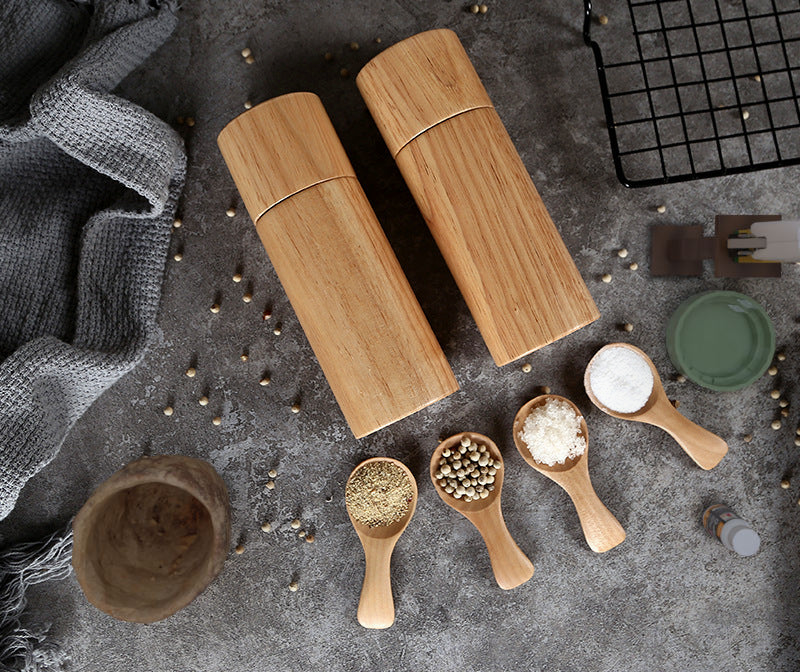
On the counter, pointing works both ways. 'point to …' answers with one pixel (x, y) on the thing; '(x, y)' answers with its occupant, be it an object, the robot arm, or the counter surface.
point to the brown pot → (152, 537)
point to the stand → (706, 249)
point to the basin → (720, 340)
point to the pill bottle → (731, 530)
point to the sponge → (749, 258)
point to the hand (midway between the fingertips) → (756, 245)
